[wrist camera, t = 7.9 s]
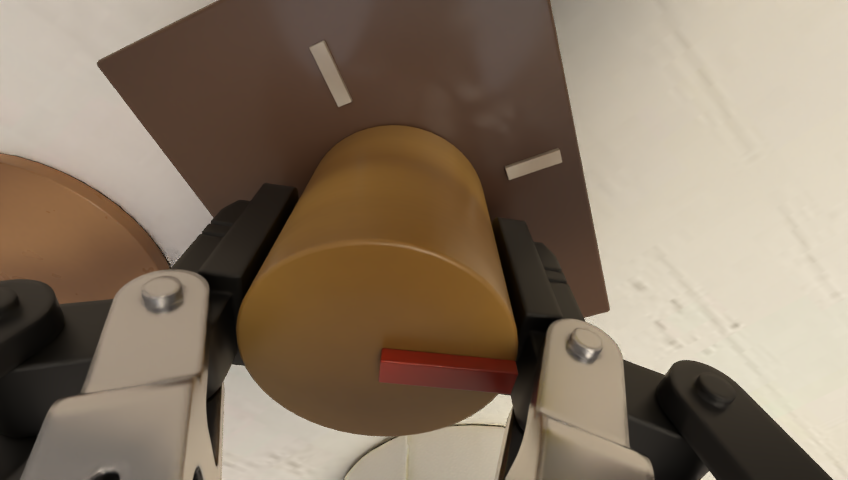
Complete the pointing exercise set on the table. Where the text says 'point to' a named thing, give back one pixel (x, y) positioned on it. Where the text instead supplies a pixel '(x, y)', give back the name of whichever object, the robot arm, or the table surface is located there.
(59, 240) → the coaster
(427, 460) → the tape roll
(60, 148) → the table surface
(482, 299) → the knob
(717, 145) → the table surface
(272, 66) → the panel
